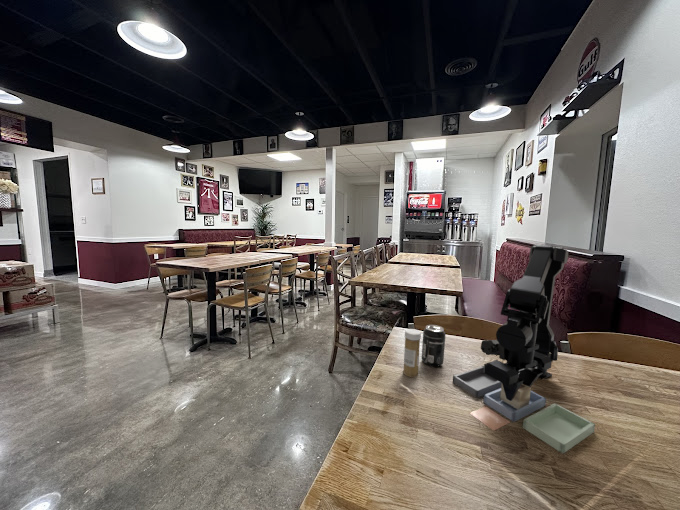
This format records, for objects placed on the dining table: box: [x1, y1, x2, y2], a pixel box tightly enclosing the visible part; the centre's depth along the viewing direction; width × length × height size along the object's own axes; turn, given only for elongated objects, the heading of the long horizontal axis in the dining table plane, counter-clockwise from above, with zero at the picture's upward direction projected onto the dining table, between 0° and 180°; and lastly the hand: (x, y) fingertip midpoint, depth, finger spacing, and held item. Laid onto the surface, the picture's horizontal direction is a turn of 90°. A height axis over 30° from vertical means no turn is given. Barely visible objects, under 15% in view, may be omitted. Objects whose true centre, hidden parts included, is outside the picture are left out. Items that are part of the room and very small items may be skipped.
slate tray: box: [483, 388, 547, 423], centre depth 68 cm, size 13×8×2 cm, turn 117°
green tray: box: [522, 403, 596, 455], centre depth 60 cm, size 13×8×2 cm, turn 117°
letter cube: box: [500, 383, 532, 409], centre depth 68 cm, size 4×4×5 cm
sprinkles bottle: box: [402, 328, 422, 378], centre depth 81 cm, size 5×5×14 cm
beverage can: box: [421, 324, 446, 368], centre depth 88 cm, size 7×7×12 cm
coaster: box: [469, 405, 511, 432], centre depth 63 cm, size 6×6×1 cm
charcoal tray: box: [452, 365, 502, 398], centre depth 76 cm, size 13×8×2 cm, turn 117°
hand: (514, 397), depth 68 cm, fingers closed on letter cube, 4 cm apart
